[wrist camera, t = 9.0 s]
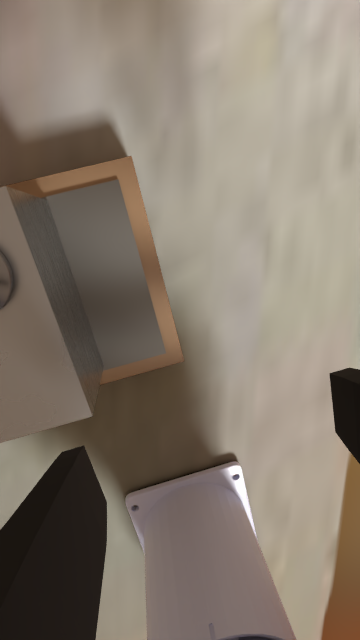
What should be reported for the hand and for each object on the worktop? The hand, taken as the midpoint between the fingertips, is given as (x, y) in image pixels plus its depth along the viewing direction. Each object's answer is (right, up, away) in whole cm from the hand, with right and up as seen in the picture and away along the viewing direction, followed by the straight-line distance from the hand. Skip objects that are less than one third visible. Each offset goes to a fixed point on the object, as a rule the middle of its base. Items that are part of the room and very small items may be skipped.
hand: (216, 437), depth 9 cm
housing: (-8, +4, +6) cm, 10 cm away
